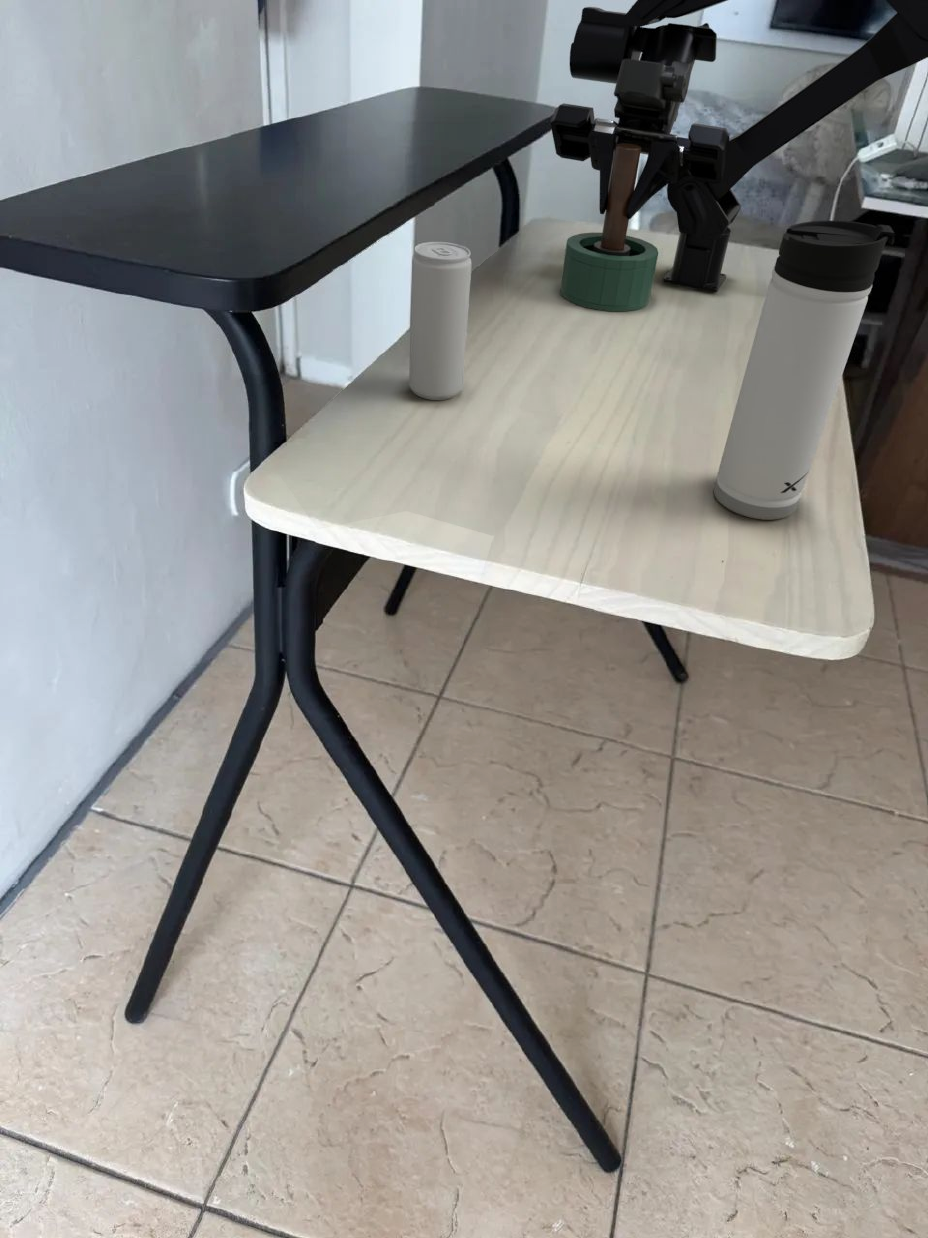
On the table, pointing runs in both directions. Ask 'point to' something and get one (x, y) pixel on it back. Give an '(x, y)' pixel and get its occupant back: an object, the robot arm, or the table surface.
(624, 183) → the brush
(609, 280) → the jar
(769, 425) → the travel mug
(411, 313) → the beverage can
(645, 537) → the table surface
